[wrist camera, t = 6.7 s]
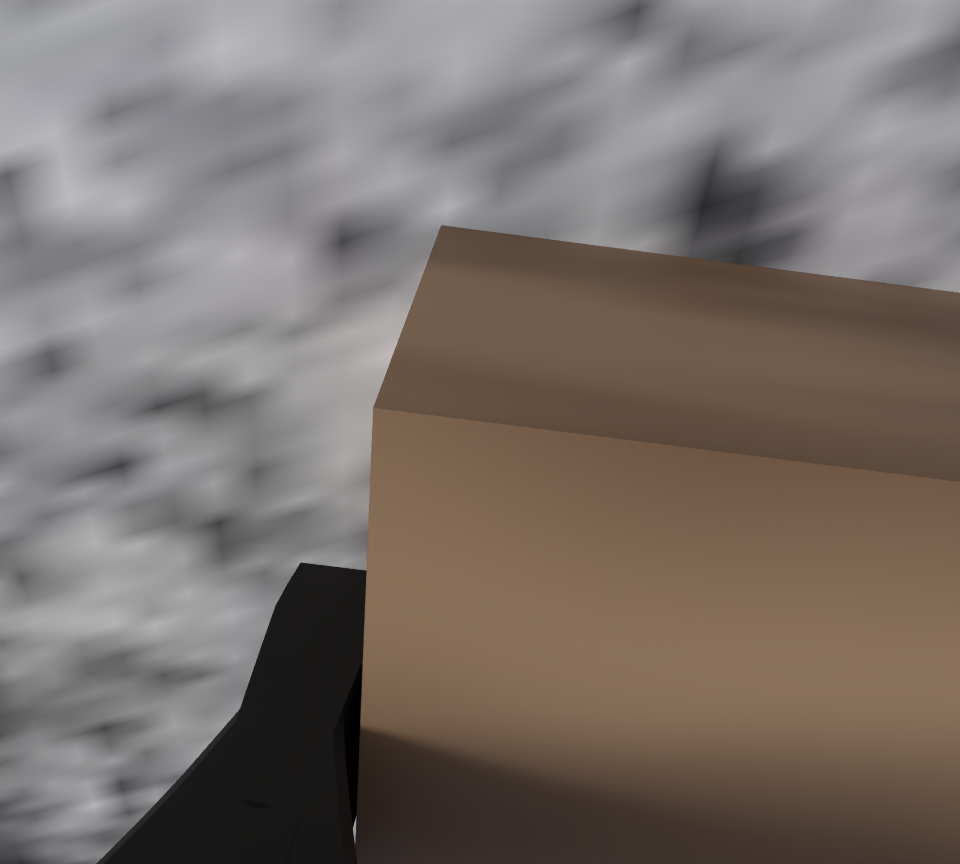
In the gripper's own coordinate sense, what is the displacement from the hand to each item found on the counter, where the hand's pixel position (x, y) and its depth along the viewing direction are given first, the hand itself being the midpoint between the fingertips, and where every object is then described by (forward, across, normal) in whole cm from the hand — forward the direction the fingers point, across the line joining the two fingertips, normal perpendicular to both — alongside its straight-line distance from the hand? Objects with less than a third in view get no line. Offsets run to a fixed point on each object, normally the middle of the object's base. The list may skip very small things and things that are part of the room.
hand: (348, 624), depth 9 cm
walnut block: (+2, -5, 0) cm, 5 cm away
